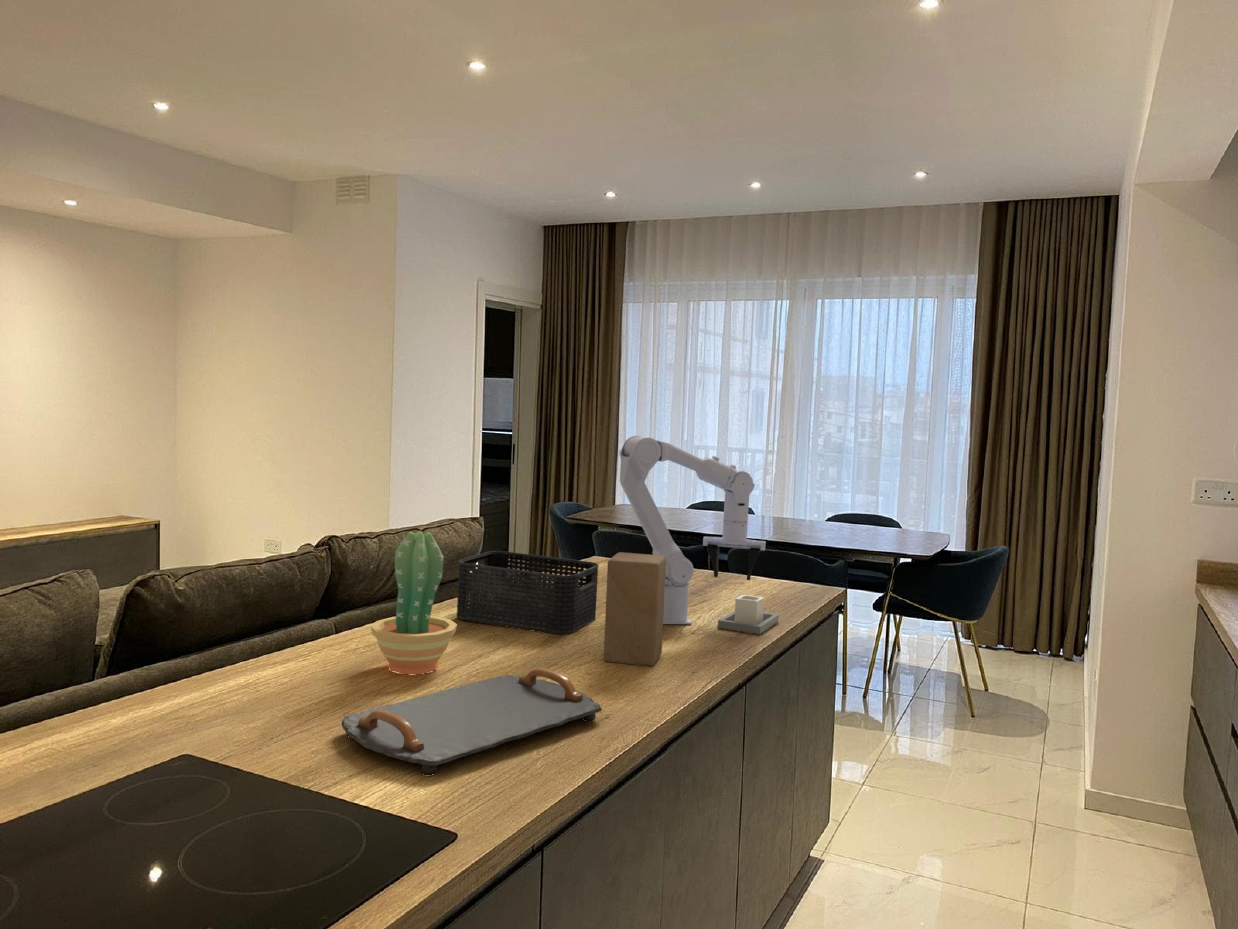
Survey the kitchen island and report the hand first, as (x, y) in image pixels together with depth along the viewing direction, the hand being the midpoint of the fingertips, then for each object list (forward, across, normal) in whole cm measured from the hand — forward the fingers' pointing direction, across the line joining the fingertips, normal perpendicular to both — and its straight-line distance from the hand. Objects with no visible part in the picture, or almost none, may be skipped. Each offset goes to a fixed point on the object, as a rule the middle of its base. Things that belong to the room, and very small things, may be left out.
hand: (732, 578), depth 215 cm
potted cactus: (+10, -52, -62) cm, 81 cm away
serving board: (+11, -30, -86) cm, 92 cm away
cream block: (+9, +5, -5) cm, 12 cm away
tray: (+10, +5, -4) cm, 12 cm away
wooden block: (+10, -15, -40) cm, 44 cm away
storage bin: (+10, -44, -19) cm, 49 cm away
